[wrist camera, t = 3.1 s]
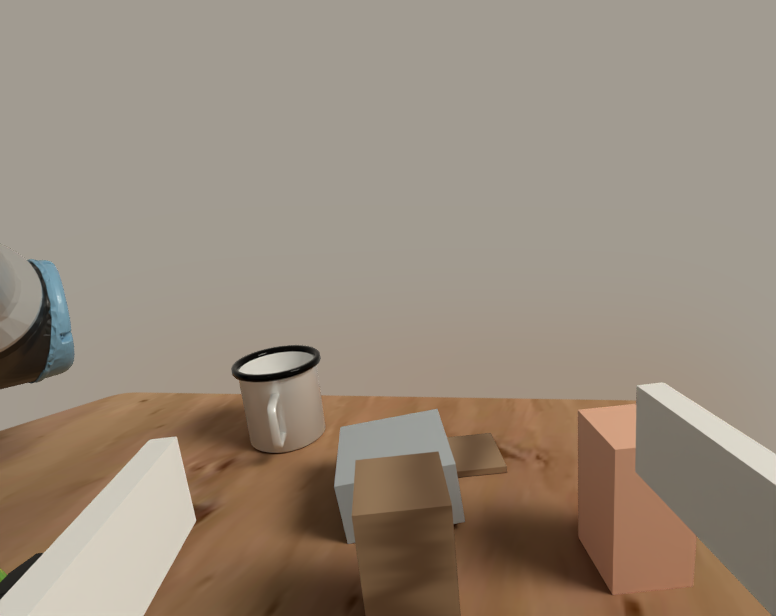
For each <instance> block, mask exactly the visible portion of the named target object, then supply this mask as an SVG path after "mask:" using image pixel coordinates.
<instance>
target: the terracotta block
mask: <svg viewBox="0 0 776 616" xmlns="http://www.w3.org/2000/svg"><path fill="white" fill-rule="evenodd" d="M635 455H636V404H630V405H620V406H611V407H601V408H592V409H582V410H578V538H579V539H580V541H581V543H582V544H583V546H584V548H585V549H586V551H587V553H588V554H589V556H590V558H591V559H592V561H593V563H594V565H595V566H596V568H597V570H598V571H599V573H600V575H601V576H602V578H603V580H604V581H605V583H606V585H607V586H608V588H609V590H610V592H611V593H612V595H617V594H626V593H636V592H645V591H654V590H664V589H673V588H683V587H692V586H693V582H694V567H695V553H696V538H697V536H696V535H695V534H694V533H693V532H692V531H691V530H690V529H689V528H688V527H687V526H686V524H685V523H684V522H683V521H682V520H681V519H680V518H679V517H678V516H677V515H676V514H675V513H674V512H673V511H672V510H671V509H670V508H669V507H668V506H667V505H666V503H665V502H664V501H663V500H662V499H661V498H660V497H659V496H658V495H657V494H656V493H655V492H654V491H653V490H652V489H651V488H650V487H649V486H648V485H647V484H646V482H645V481H644V480H643V479H642V478H641V477H640V476H639V475H638V474H637V473H636V472H635Z"/></svg>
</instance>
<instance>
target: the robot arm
mask: <svg viewBox="0 0 776 616" xmlns="http://www.w3.org/2000/svg"><path fill="white" fill-rule="evenodd" d="M73 361H74V343H73V338H72V333H71V324H70V317H69V312H68V307H67V302H66V298H65V294H64V289H63V286H62V282H61V279H60V275H59V272H58V270H57V269H56V267H55V265H54V264H53V263H52V262H50V261H46V260H39V261H37V260H33V259H29V260H26V259H25V258H24V257H23V256H21V255H20V254H19V253H17V252H16V251H14V250H12V249H11V248H9V247H7V246H5V245H2V244H0V389H3V388H8V387H11V386H16V385H20V384H24V383H34V382H40V381H42V380H43V379H44V378H47V377H51V376H54V375H58V374H61V373H63V372H65V371H67V370H68V369H69V368H70V367H71V366H72V364H73ZM636 394H637V395H636V396H637V397H636V455H635V472H636V473H637V474H638V475H639V476H640V477H641V478H642V479H643V480H644V481H645V482H646V484H647V485H648V486H649V487H650V488H651V489H652V490H653V491H654V492H655V493H656V494H657V495H658V496H659V497H660V498H661V499H662V500H663V501H664V502H665V503H666V505H667V506H668V507H669V508H670V509H671V510H672V511H673V512H674V513H675V514H676V515H677V516H678V517H679V518H680V519H681V520H682V521H683V522H684V523H685V524H686V526H687V527H688V528H689V529H690V530H691V531H692V532H693V533H694V534H695V535H696V536H697V537H698V538H699V539H700V540H701V541H702V542H703V543H704V544H705V545H706V547H707V548H708V549H709V550H710V551H711V552H712V553H713V554H714V555H715V556H716V557H717V558H718V559H719V560H720V561H721V562H722V563H723V564H724V565H725V567H726V568H727V569H728V570H729V571H730V572H731V573H732V574H733V575H734V576H735V577H736V578H737V579H738V580H739V581H740V582H741V583H742V584H743V585H744V586H745V588H746V589H747V590H748V591H749V592H750V593H751V594H752V595H753V596H754V597H755V598H756V599H757V600H758V601H759V602H760V603H761V604H762V605H763V606H764V607H765V609H766V610H767V611H768V612H769V613H770V614H771V615H772V616H776V454H775V453H773V452H771V451H770V450H768V449H767V448H765V447H764V446H762V445H760V444H759V443H757V442H756V441H754V440H753V439H751V438H749V437H748V436H746V435H745V434H743V433H741V432H740V431H738V430H737V429H735V428H734V427H732V426H731V425H729V424H728V423H726V422H724V421H723V420H721V419H720V418H718V417H717V416H715V415H713V414H712V413H710V412H709V411H707V410H706V409H704V408H703V407H701V406H699V405H698V404H696V403H695V402H693V401H692V400H690V399H688V398H687V397H685V396H684V395H682V394H681V393H679V392H677V391H676V390H674V389H673V388H671V387H670V386H668V385H667V384H665V383H654V384H646V385H637V393H636ZM195 522H196V518H195V514H194V509H193V505H192V501H191V496H190V492H189V488H188V484H187V479H186V475H185V471H184V466H183V462H182V458H181V453H180V449H179V445H178V440H177V437H169V438H160V439H151V440H149V441H148V442H147V443H146V444H145V445H144V446H143V447H142V448H141V449H140V451H139V452H138V453H137V454H136V455H135V456H134V457H133V458H132V459H131V460H130V461H129V462H128V463H127V464H126V466H125V467H124V468H123V469H122V470H121V471H120V472H119V473H118V474H117V475H116V476H115V477H114V478H113V479H112V481H111V482H110V483H109V484H108V485H107V486H106V487H105V488H104V489H103V490H102V491H101V492H100V493H99V494H98V496H97V497H96V498H95V499H94V500H93V501H92V502H91V503H90V504H89V505H88V506H87V507H86V508H85V509H84V511H83V512H82V513H81V514H80V515H79V516H78V517H77V518H76V519H75V520H74V521H73V522H72V523H71V524H70V526H69V527H68V528H67V529H66V530H65V531H64V532H63V533H62V534H61V535H60V536H59V537H58V538H57V539H56V541H55V542H54V543H53V544H52V545H51V546H50V547H49V548H48V549H47V550H46V551H45V552H44V553H38V554H35V555H34V556H33V557H31V558H30V559H28V560H27V561H26V562H24V563H23V564H21V565H20V566H19V567H17V568H16V569H14V570H13V571H12V572H10V573H9V574H8V575H7V576H6V577H5V578H4V579H3V580H2V581H1V582H0V616H143V615H144V614H145V612H146V610H147V608H148V606H149V605H150V603H151V601H152V599H153V597H154V596H155V594H156V592H157V590H158V588H159V587H160V585H161V583H162V581H163V579H164V578H165V576H166V574H167V572H168V570H169V569H170V567H171V565H172V563H173V561H174V560H175V558H176V556H177V554H178V552H179V551H180V549H181V547H182V545H183V543H184V542H185V540H186V538H187V536H188V534H189V533H190V531H191V529H192V527H193V525H194V524H195Z"/></svg>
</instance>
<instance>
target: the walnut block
mask: <svg viewBox="0 0 776 616" xmlns="http://www.w3.org/2000/svg"><path fill="white" fill-rule="evenodd" d="M352 522H353V529H354V537H355V544H356V551H357V558H358V565H359V573H360V580H361V587H362V594H363V601H364V609H365V616H461V614H460V601H459V589H458V576H457V563H456V550H455V538H454V525H453V512H452V503H451V499H450V495H449V491H448V487H447V483H446V479H445V475H444V471H443V467H442V463H441V459H440V455H439V451H437V452H428V453H419V454H409V455H400V456H390V457H381V458H371V459H362V460H356V461H355V475H354V490H353V504H352Z"/></svg>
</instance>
